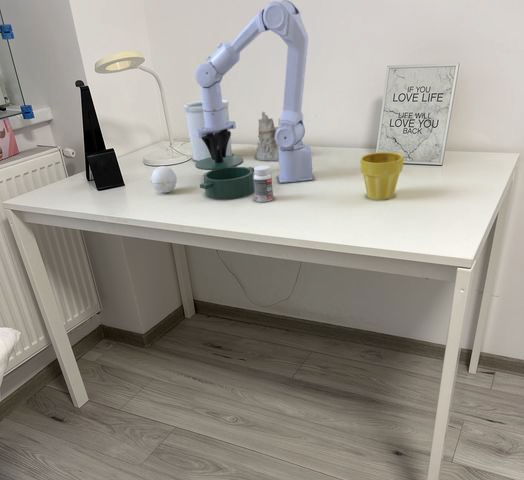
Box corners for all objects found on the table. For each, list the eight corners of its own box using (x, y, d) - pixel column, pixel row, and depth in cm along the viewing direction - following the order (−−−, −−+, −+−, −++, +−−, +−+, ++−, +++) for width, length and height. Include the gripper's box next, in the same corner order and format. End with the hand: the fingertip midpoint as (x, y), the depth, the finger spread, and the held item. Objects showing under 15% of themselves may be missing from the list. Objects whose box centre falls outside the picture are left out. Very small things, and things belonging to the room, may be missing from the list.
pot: (188, 197, 151) (185, 178, 148) (238, 179, 162) (236, 162, 159) (221, 205, 143) (219, 186, 140) (271, 186, 154) (269, 167, 151)
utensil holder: (197, 152, 197) (189, 100, 187) (237, 150, 194) (231, 97, 185) (186, 163, 184) (178, 108, 175) (229, 161, 182) (223, 105, 173)
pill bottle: (271, 202, 142) (269, 169, 137) (253, 202, 143) (250, 170, 138) (274, 196, 146) (272, 164, 141) (257, 196, 147) (254, 165, 142)
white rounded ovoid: (163, 187, 162) (159, 162, 158) (183, 189, 158) (179, 163, 154) (142, 197, 155) (136, 171, 151) (162, 200, 151) (157, 173, 147)
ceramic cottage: (293, 161, 175) (290, 110, 167) (248, 161, 181) (243, 113, 174) (310, 152, 187) (308, 104, 179) (267, 153, 193) (264, 107, 186)
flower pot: (376, 205, 133) (377, 164, 128) (351, 195, 141) (352, 157, 135) (409, 196, 136) (412, 156, 131) (383, 187, 144) (385, 149, 139)
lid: (185, 168, 164) (183, 151, 162) (221, 157, 173) (219, 141, 170) (217, 174, 155) (215, 157, 152) (253, 162, 164) (252, 145, 161)
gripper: (222, 104, 162) (227, 151, 169) (184, 113, 154) (192, 162, 161) (238, 105, 158) (243, 153, 165) (200, 115, 149) (207, 165, 157)
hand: (218, 158), depth 163 cm, fingers closed on lid, 2 cm apart
